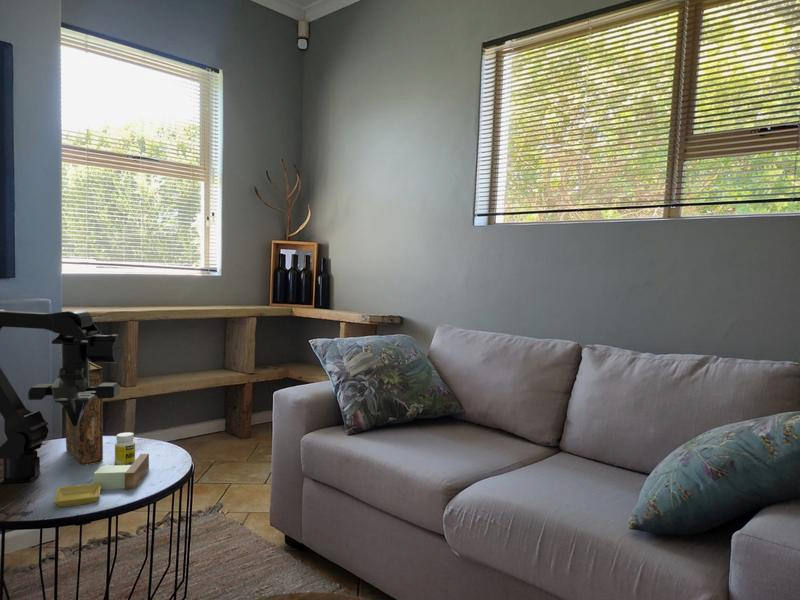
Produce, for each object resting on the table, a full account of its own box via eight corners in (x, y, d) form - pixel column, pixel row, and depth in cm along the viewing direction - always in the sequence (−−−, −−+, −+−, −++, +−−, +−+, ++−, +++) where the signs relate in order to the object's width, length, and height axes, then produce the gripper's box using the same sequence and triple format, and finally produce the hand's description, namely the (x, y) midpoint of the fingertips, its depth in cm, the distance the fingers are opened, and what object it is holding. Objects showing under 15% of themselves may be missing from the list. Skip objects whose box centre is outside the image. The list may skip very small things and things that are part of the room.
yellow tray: (101, 490, 132) (101, 482, 132) (99, 505, 124) (99, 495, 124) (57, 496, 128) (57, 487, 128) (53, 511, 120) (53, 501, 120)
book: (104, 461, 150) (104, 368, 149) (81, 465, 147) (80, 370, 146) (87, 446, 163) (87, 360, 161) (66, 450, 159) (65, 362, 158)
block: (93, 490, 132) (93, 473, 131) (101, 482, 137) (101, 465, 136) (125, 488, 133) (125, 472, 133) (132, 481, 138) (132, 464, 138)
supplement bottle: (126, 470, 145) (126, 437, 144) (110, 468, 145) (110, 436, 145) (139, 464, 149) (139, 432, 149) (123, 462, 150) (123, 431, 150)
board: (124, 490, 132) (124, 473, 131) (140, 469, 145) (140, 453, 145) (134, 489, 132) (133, 472, 132) (148, 468, 146) (148, 453, 145)
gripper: (16, 368, 127) (17, 437, 127) (106, 367, 130) (106, 434, 131) (38, 360, 138) (38, 424, 138) (120, 359, 141) (120, 421, 142)
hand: (75, 426), depth 137 cm, fingers closed
